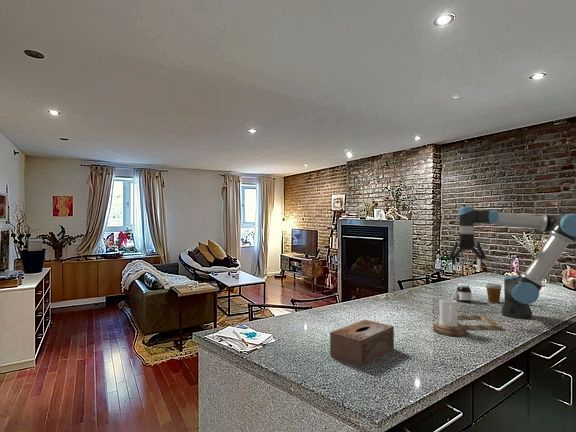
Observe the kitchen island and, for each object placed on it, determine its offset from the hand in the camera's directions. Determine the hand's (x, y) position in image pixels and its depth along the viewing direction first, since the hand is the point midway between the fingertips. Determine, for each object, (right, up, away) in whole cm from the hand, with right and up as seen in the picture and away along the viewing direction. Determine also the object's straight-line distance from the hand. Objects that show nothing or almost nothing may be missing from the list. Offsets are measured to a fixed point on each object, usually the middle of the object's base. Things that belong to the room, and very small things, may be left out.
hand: (467, 270), depth 198 cm
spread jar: (+16, -28, +40) cm, 51 cm away
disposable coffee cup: (+37, -28, +36) cm, 59 cm away
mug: (-23, -23, -27) cm, 43 cm away
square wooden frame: (-4, -26, -13) cm, 30 cm away
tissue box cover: (-72, -26, -54) cm, 94 cm away
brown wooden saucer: (-23, -26, -27) cm, 44 cm away
